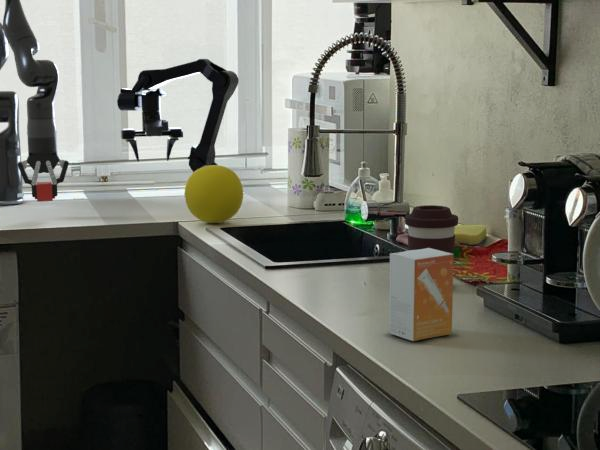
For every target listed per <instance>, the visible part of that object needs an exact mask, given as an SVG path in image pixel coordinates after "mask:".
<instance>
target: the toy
mask: <svg viewBox="0 0 600 450" xmlns="http://www.w3.org/2000/svg"><path fill="white" fill-rule="evenodd" d="M184 199H185V203H186V204H185V205H186V206H187V209H188V210H189V212H190V213H191V214H192V216H194V218H196V219H197V220H199V221H202V222H205V223H209V224H217V223H218V224H219V223H223V222H226V221H228V220H230V219H232V218H234V217H235V216H236V214H237V213H238V212H239V211H240V209H241V206H242V205H243V200H244V189H243V184H242V181H241V180H240V178H239V176H238V175H237V174H236V172H234V170H232V169H230V168H229V167H226V166H223V165H218V164H217V165H209V166H204V167H201V168H199V169H197V170H196V171H195V172H193V171H192V174H190V176H189V177H188V179H187V181H186V184H185V188H184Z"/></svg>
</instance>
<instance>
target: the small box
mask: <svg viewBox="0 0 600 450" xmlns="http://www.w3.org/2000/svg"><path fill="white" fill-rule="evenodd" d="M454 256H455V253H454V254H452V253H447V252H444V251H440V250H436V249H431V248H425V249H419V250H409V251H408V250H405V251H399V252H393V253H392V252H391V253H389V294H388V295H389V299H388V312H389V313H388V334H390V335H393V336H395V337H396V336H397V337H399V338H402V339H405V340H408V341H411V342H417V341H420V340H427V339H431V338H436V337H442V336H447V335H448V336H449V335H452V334H453V302H454V301H453V300H454V299H453V297H454V263H455V261H454V260H455V259H454V258H455V257H454Z"/></svg>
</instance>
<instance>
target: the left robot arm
mask: <svg viewBox="0 0 600 450" xmlns="http://www.w3.org/2000/svg"><path fill="white" fill-rule="evenodd" d="M4 1H5V2H4V3H5V4H4V13H3V20H2V22H1V21H0V71H1V70H2V69H3V67H4V66H5V64H6V62H7V60H8V58H9V55H10V48H11V50H12V52H13V56H14V62H15V67H16V72H17V76H18V78H19V80H20V81H21V83H22V84H23V85H24V86H26V87H29V88H37V90H36V93H35V94H34V95H32V96H29V97H28V98H27V100H26V115H27V124H26V135H27V136H26V137H27V152H28V155H27V157H26V159H25V160H23V161H22V151H21V137H20V101H19V95H18V93H17V92H16V91H14V90H0V123H1V124H3V123H6V124H7V126H6V127H5V128H4V129H3V130H2V131H0V206H11V205H21V204H23V203H24V202H25V201H24V199H25V198H24V197H25V192H24V187H23V182H24V183H25V184H27V185H30V186H31V197H32V198H34V200H37V182H38V177H39V174H44V173H45V174H48V175H49V177H50V179H51V182H52V197H53V199H54V200H55V199H56V197H58V196H59V195H58V184H60V183H63V182H64V181H65V178H66V175H67V171H68V167H69V164H70V162H69V160H67V159H62V158H60V157H59V155H58V142H57V140H58V139H57V125H56V120H55V119H56V118H55V100H56V99H55V98H56V96H57V90H58V85H59V78H60V75H59V70H58V67H57V65H56V63H54V62H53V61H52V60H50V59H35V58H34V55H35V56H36V54H37V53H38V52H39V51H40V44H39V41H38V40H37V38H36V35H35V33H34V32H33V31H34V30H32V27H31V26H30V24H29V22H28V19H27V17H26V14H25V11H24V8H23V5H22V3H21V0H4ZM58 164H59V166H60V169H61V170H60V174H59V177H58V178H57V177H56V173H55V168H56V167H57V166H58ZM27 165H29V167H31V169H32V170H33V173H32V178H29V176H28V173H27V171H26V169H27V168H28V167H27Z"/></svg>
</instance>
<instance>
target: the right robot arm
mask: <svg viewBox="0 0 600 450" xmlns="http://www.w3.org/2000/svg"><path fill="white" fill-rule="evenodd" d="M197 74H201V75H202V76H203V77H204V78H206V80H208V81H209V82H211V96H212V99H211V102H210V105H209V109H208V113H207V116H206V120H205V122H204V127H203V130H202V134H201V137H200V141H199V143H198V144H196V145H193V146H191V147H190V152H189V156H188V157H187V160H188V166H189V168H190V170H191V171H192V173H193V172H195V171H196V170H197V169H199V168H201V167H204V166H209V165H218V163H217V162H216V148H215V146H216V141H217V138H218V135H219V132H220V128H221V125H222V121H223V118H224V114H225V111H226V108H227V104H228V102H229V100H230V99H231V98H232V96H233V95H234V93H235V91H236V89H237V87H238V85H239V82H240V81H239V77H238V74H237V73H236V72H234V71H233V70H227V69H225V68H224V67H222V66H220V65H218V64H217V63H214V62H213V61H211V60H210V59H209V58H199V59H197V60H194V61H190V62H186V63H183V64H179V65H174V66H171V67H168V68H167V67H166V68H159V69H145V70H142V71H140V72H139V74H138V77H137V80H136V82H135V84H134V85H133V87H132V88H120V92H119V94H118V97H117V100H116V105H117V108H118V109H119V110H120V111H127V112H128V111H134V112H135V111H139V110H141V122H142V123H141V124H142V130H136V129H135V128H122V129H121V130H120V138H121V140H125V142H126V143H129V144H130V146H131V148H132V151H133V153H134V156H135V159H136V161H137V163H139V161H140V156H139V149H138V143H137V139H136V138H141V137H167V141H166V161H167V162H168V161H170V157H171V153H172V150H173V147H174V145H175V143H176V141H180V138H184V130H183V129H182V128H181V127H178V126H177V127H169V119H162V115H161V113H162V112H161V97H166V96H167V92H165V91H164V90H163V88H161V87H162V86H164V85H166V84H168V83H169V82H172V81H174V80H178V79H183V78H186V77H189V76H194V75H197ZM152 89H156V90H152ZM145 92H146V93H145Z"/></svg>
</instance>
